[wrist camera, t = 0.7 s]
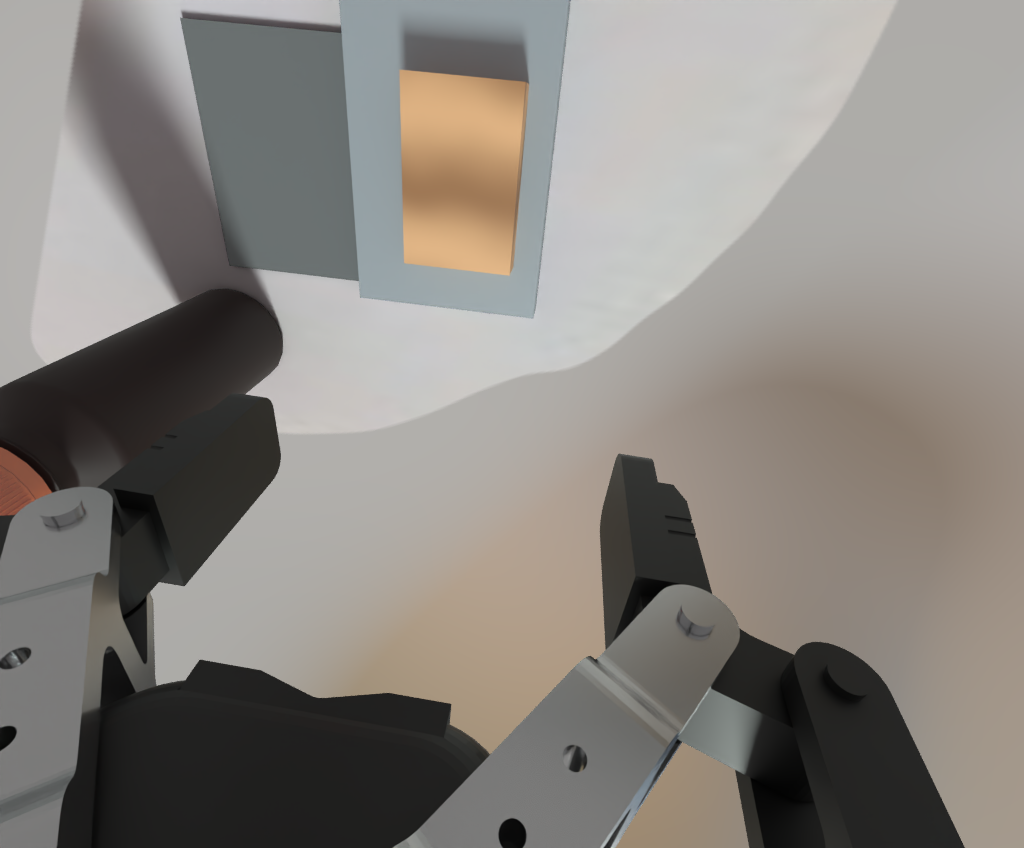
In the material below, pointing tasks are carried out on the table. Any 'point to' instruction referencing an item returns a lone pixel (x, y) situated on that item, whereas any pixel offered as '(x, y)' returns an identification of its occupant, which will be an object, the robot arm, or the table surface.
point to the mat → (277, 144)
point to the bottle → (128, 393)
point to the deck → (377, 133)
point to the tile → (461, 169)
